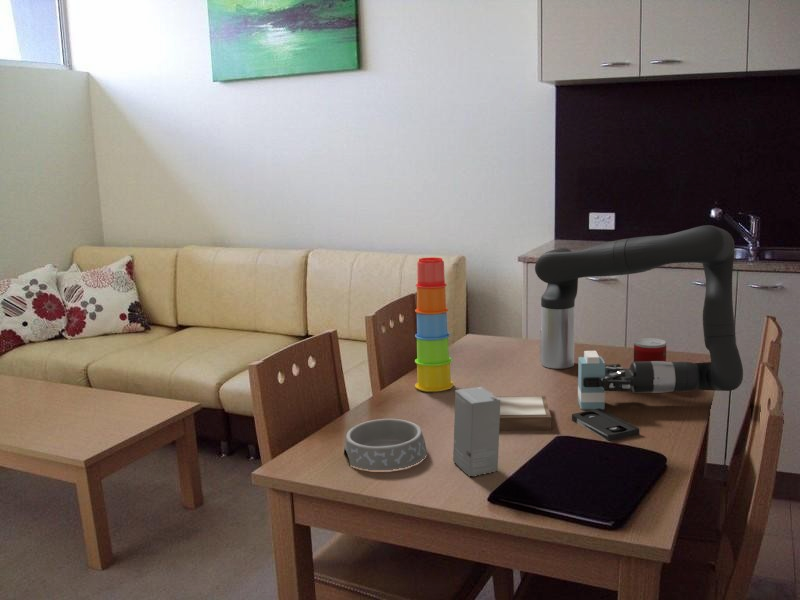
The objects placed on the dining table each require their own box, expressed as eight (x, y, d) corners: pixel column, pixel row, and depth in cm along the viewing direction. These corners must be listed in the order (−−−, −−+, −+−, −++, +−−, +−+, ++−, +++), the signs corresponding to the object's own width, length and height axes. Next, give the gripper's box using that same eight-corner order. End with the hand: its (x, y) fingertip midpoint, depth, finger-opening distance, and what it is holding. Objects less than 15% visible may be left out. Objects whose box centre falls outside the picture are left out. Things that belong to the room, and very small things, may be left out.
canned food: (669, 386, 197) (670, 345, 194) (637, 387, 197) (638, 346, 195) (659, 376, 204) (661, 337, 202) (629, 377, 205) (630, 338, 202)
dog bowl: (355, 479, 152) (354, 454, 151) (337, 445, 170) (335, 422, 168) (436, 466, 157) (436, 441, 156) (410, 434, 174) (409, 411, 173)
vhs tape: (571, 422, 177) (571, 414, 177) (599, 416, 180) (599, 408, 180) (609, 443, 164) (609, 435, 164) (639, 436, 167) (639, 428, 167)
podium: (487, 408, 187) (487, 395, 186) (545, 407, 186) (545, 394, 185) (488, 430, 173) (488, 416, 173) (551, 429, 172) (551, 416, 171)
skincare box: (452, 462, 157) (450, 389, 154) (483, 456, 160) (481, 384, 156) (470, 479, 150) (468, 402, 146) (502, 472, 152) (501, 396, 149)
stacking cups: (407, 387, 205) (401, 260, 197) (434, 378, 211) (430, 254, 204) (433, 396, 197) (429, 264, 190) (461, 386, 204) (457, 258, 196)
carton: (577, 401, 189) (578, 350, 186) (600, 401, 188) (601, 350, 186) (580, 409, 184) (581, 357, 181) (604, 409, 183) (605, 357, 180)
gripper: (646, 353, 189) (577, 354, 191) (659, 371, 175) (585, 372, 177) (645, 382, 191) (577, 382, 192) (658, 402, 177) (585, 402, 179)
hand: (581, 377), depth 185 cm, fingers open, 6 cm apart
